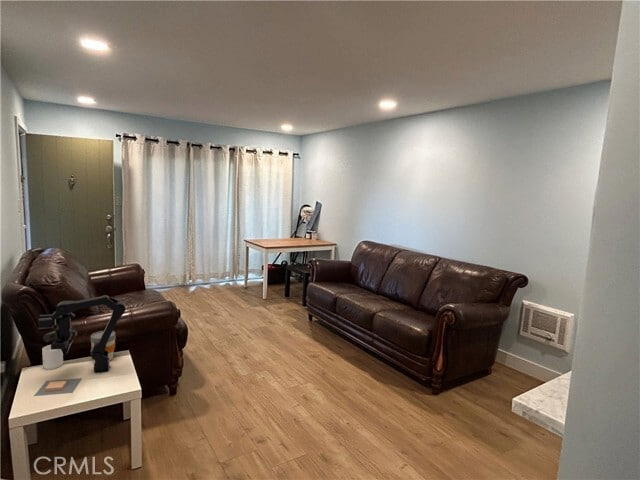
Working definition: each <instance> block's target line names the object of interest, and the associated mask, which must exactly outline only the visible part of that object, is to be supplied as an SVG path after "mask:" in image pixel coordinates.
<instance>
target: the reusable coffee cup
mask: <svg viewBox="0 0 640 480" xmlns="http://www.w3.org/2000/svg"><path fill="white" fill-rule="evenodd" d="M103 332H104V330H100V331H96V332H93V333H92V334H91V335H90V343H91V345H90V349H91V348H92V347H93V345H94V342H98V341H99V340H100V338H101V336H102V334H103ZM116 336H117V335H116V332H115V331H114V330H113V331H112V333H111V335H110V337H109V340H108V342H107V344H106V348H105V350H106V351H108V352H109V354H108V358H109V360H110V361H111V359H112V360H113V357H114V352H115V349H116V339H117V337H116Z"/></svg>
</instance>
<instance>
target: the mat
mask: <svg viewBox="0 0 640 480" xmlns="http://www.w3.org/2000/svg"><path fill="white" fill-rule="evenodd" d="M82 380H83V377H79V378H66V379H64V378H63V379H53V380H50V379H49V380H46V381H45V382H44V383H43V384H42V385H41V387H40V388H39V389H38V390H37V392H36V393H34V395H33V397H39V396H51V395H65V394H73V393H74V392H75V390H76V389H77V387H78V386H79V384H80V383H81V381H82ZM57 381H67V384H66V386H65V387H64V388H63V390H59V391H47V392H45V388H46V387H47V386H48V384H49V383H50V382H57Z"/></svg>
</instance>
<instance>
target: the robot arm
mask: <svg viewBox="0 0 640 480" xmlns="http://www.w3.org/2000/svg"><path fill="white" fill-rule="evenodd" d="M102 305H104V306H106V308H109V309H110V310H111V311H112V312H111V316H110V318H109V319H108V322H107V324H106V327H105V328H104V330H103V331H104V332H103V334H102V336H101V338H100V340H99V341H98V342H94V345H93V347H92V348H91V347H90V357H91V359H92V360H94V363H93V371H94V372H93V373H94V374H98V373H107V372H109V370H110V368H112V367H111V366H110V361H109V358H108V354H109V352H108V351H106V350H105V348H106V344H107V342H108V340H109V337H110V335H111V333H112V331H114V329H115V328H116V325H117V323H118V321H119V320H120V319H121V318H122V316H123V315H124V314H125V312H126V310H127V309H126V306H127V305H126V302H124V301H123V300H118V299H117V298H114V297H111V296H109V295H106V294H104V295H101V296H96V297H92V298H86V299H81V300H62V301H60V302H59V303H58V304H57V306H56V308H55V311H53V313H52V314H51V313H50V314H39V316H38V322H37V328H38V330H41V329H42V330H43V329H44V330H45V329H53V328H54V326H57V328H56V330H54V331H50V332H48V333H46V334H44V335H43V341H44V342H46V343H48V342H49V341H53V340H55V341H54V342H53V343H52V344H50V345H51V350H53V349H61V350H62V352H63V356H67V354H68V352H69V350H70V348H71V346H72V343H73V342H74V338H72V336H73V337H76V336H78V331H77V330H76V329H73V325H72V319H74V318H75V316H76V314H75V313H73V312H75V311H77V310H81V309H87V308H92V307H96V306H102ZM71 318H72V319H71Z"/></svg>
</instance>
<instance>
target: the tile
mask: <svg viewBox="0 0 640 480" xmlns="http://www.w3.org/2000/svg"><path fill="white" fill-rule="evenodd" d="M66 384H67V381H57V382H50V383H49V384H48V386H47V387H46V388H45V392H47V391H59V390H63V388H64V387H65V386H66Z"/></svg>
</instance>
